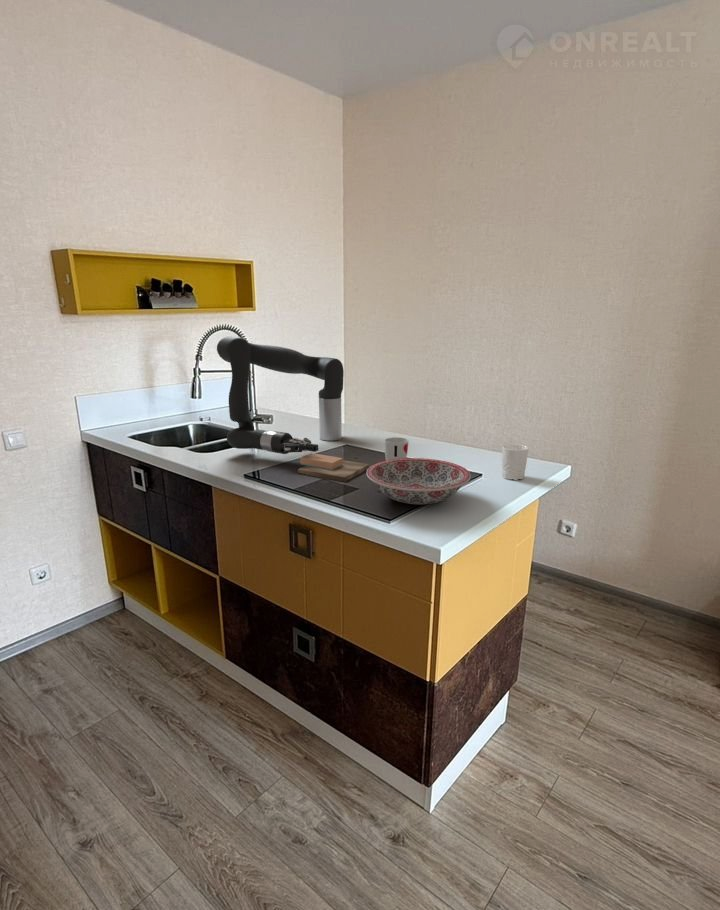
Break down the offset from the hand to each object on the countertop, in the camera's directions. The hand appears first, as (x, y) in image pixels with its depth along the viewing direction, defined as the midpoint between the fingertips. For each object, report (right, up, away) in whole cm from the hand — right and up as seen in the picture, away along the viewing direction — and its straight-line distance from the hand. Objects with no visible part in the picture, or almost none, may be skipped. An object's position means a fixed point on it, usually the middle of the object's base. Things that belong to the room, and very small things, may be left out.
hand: (317, 448), depth 176 cm
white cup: (+64, -10, -8) cm, 65 cm away
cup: (+27, -7, +1) cm, 28 cm away
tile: (-4, -4, +4) cm, 7 cm away
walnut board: (+6, -8, -1) cm, 10 cm away
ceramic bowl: (+31, -15, -27) cm, 43 cm away
